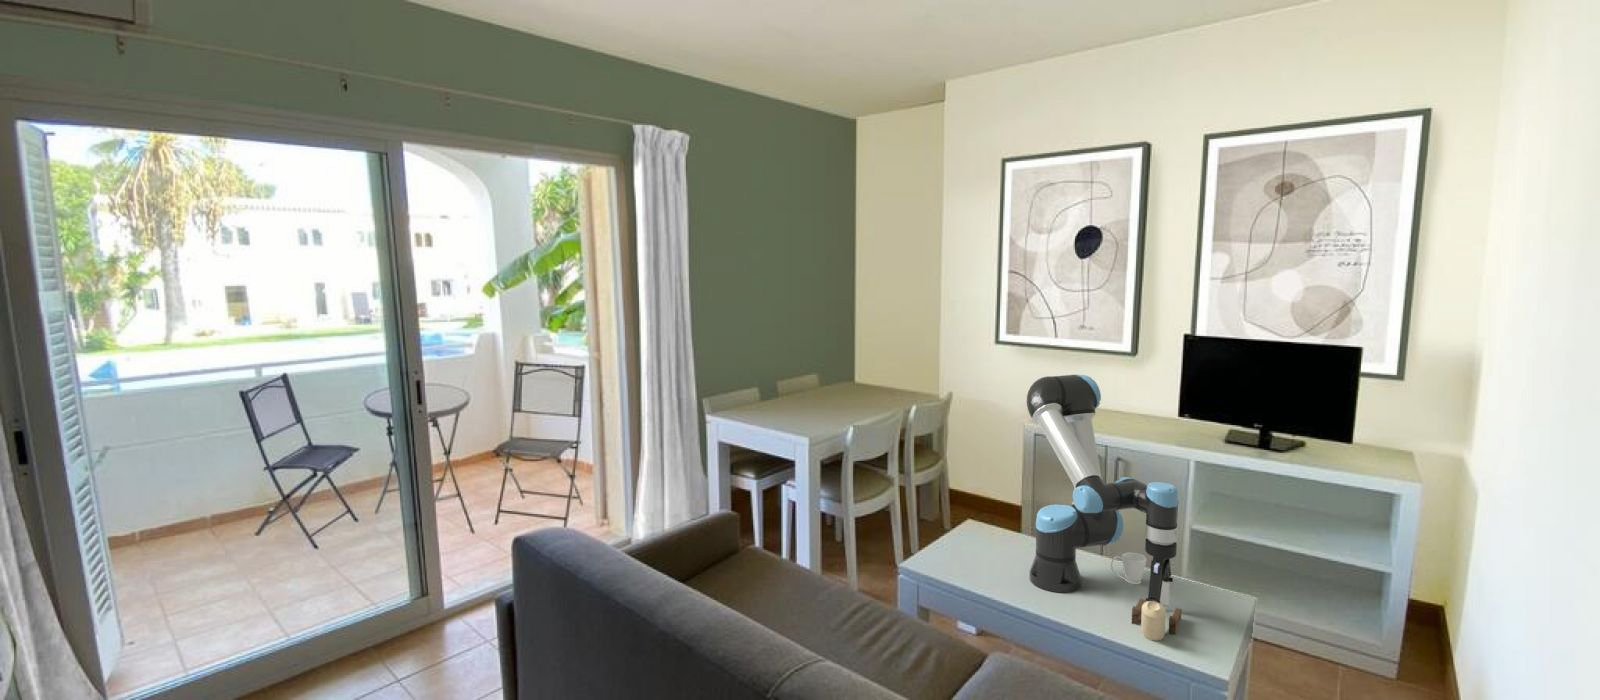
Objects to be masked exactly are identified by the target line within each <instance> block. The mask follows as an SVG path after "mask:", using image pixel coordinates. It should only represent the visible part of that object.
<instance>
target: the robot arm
mask: <svg viewBox="0 0 1600 700" xmlns="http://www.w3.org/2000/svg"><path fill="white" fill-rule="evenodd" d="M1100 390H1101V389H1100V387H1099V385H1098V384H1097V382H1096V381H1095V380H1094V379H1093V378H1092V377H1090V376H1089V375H1087V374H1067V375H1056V376H1053V375H1052V376H1051V375H1050V376H1044V377H1041V378H1038V379H1037V380H1035V381H1034V382H1033V383H1032V384H1031V386H1030V387H1029V389H1028V392H1027V394H1026V407H1027V411H1028V413H1029V416H1030V418H1031V420H1032V421H1033V422H1034V423H1035V424H1038V425H1039V427H1040V428H1041V430H1042V432H1043V434H1044V436H1045V437H1046V440H1047V441H1048V443H1049V444H1050V447H1052V449H1053V451H1054V453H1055V455H1056V456H1057V458H1058V460H1059V461H1060V463H1061V465H1062V467H1063V469H1064V470H1065V472H1066V474H1067V476H1068V478H1069V479H1070V481H1071V482H1072V485H1073V492H1072V499H1073V501H1072V502H1071V506H1070V505H1067V504H1056V503H1055V504H1049V505H1046V506H1043V507H1041V508H1040V509H1039V510H1038V511H1037V514H1036V520H1035V556H1034V558H1033V561H1032V564H1031V566H1030V569H1029V581H1030V582H1031V583H1032V585H1034V586H1035V587H1037V588H1040V589H1042V590H1045V591H1049V592H1052V593H1053V592H1055V593H1070V592H1075V591H1077V590H1079V589H1080V588H1081V586H1082V576H1081V573H1080V570H1079V566H1078V563H1077V561H1076V560H1077V559H1076V557H1077V556H1076V554H1077V549H1081V548H1082V549H1083V548H1090V547H1097V546H1100V547H1101V546H1102V547H1103V546H1107V545H1112V544H1115V543H1116V542H1118V541H1119V540H1120V538H1121V537H1122V536H1123V533H1124V532H1123V531H1124V519H1123V515H1122V513H1121V512H1120V511H1121V510H1129V509H1136V510H1138V511H1140V512H1141V513H1143V514H1144V513H1145V515H1146V517H1145V533H1144V534H1145V542H1144V543H1145V547H1144V548H1145V549H1144V551H1145V552H1146V554H1148V555H1149V556H1152V559H1151V562H1150V574H1149V576H1150V577H1149V585H1148V593H1147V597H1145V600H1146V602H1148V601H1155V602H1157V603H1159V604H1161V605H1164V606H1165V605H1166V606H1169V605H1170V588H1171V587H1170V583H1174V581H1173V580H1174V578H1173V577H1172V571H1171V570H1172V569H1171V559H1174V558H1175V557H1176V556H1177V553H1178V552H1177V547H1178V545H1177V539H1178V538H1177V537H1178V535H1180V531H1179V530H1178V511H1179V502H1180V501H1179V491H1178V487H1176V486H1175V485H1174V484H1171V483H1166V482H1163V481H1162V482H1161V481H1153V482H1150V483H1148V484H1146V483H1143V482H1141V481H1140V480H1138V479H1135V478H1132V477H1128V476H1123V477H1120V478H1119V479H1117V480H1115V481H1114V482H1112V483H1111V482H1109V483H1105V482H1104V480H1103V478H1102V472H1101V467H1100V461H1099V455H1098V454H1099V453H1098V450H1097V443H1096V439H1095V432H1094V425H1093V421H1092V420H1093V418H1094V417H1095V416H1096V409H1097V408H1099V406H1100V405H1101V401H1102V397H1101V395H1102V393H1101V391H1100Z"/></svg>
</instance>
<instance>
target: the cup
mask: <svg viewBox="0 0 1600 700" xmlns="http://www.w3.org/2000/svg"><path fill="white" fill-rule="evenodd" d="M1115 559H1119V560H1122V567H1123V572H1124V575H1125V577H1124V576H1122V575H1120V573H1118V572H1117V571H1116V570H1115V569H1114V567H1113V561H1114V560H1115ZM1146 564H1147V558H1146V556H1145V554H1141V553H1138V552H1132V551H1126V552H1124V553H1121V556H1120V555H1119V556H1118V555H1116V556H1114V557H1113V558H1112V559H1111V562H1110V569H1111V571H1112V572H1113V573H1114V574H1115V575H1116V576H1117V577H1118V578H1120V579H1122V580H1124V581H1125V582H1127V583H1129V584H1132V585H1140V584H1141V583H1142V579H1143V576H1144V573H1145V569H1146Z"/></svg>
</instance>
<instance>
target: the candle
mask: <svg viewBox="0 0 1600 700" xmlns="http://www.w3.org/2000/svg"><path fill="white" fill-rule="evenodd" d="M1166 613H1167V611H1166V608H1165V607H1164V605H1163V604H1159V603H1157V602H1155V601H1146V602H1145V603H1144V604H1143V605H1142V616H1141V619H1140V622H1141V623H1140V629H1141V630H1140V631H1141V633H1142V635H1143V637H1145V638H1146V639H1148V640H1149V641H1155V642H1156V641H1161V640H1163V638H1164V637H1165V633H1166V632H1165V630H1166V617H1167V616H1166V615H1167V614H1166Z"/></svg>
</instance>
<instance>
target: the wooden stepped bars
mask: <svg viewBox="0 0 1600 700" xmlns="http://www.w3.org/2000/svg"><path fill="white" fill-rule="evenodd" d="M1145 602H1147V601H1146V599H1143V598H1139V599H1138V602H1137V603H1136V604H1135V605H1133V606H1132V609H1131V624H1132V625H1136V626H1138V625H1139V623H1140V622H1141V616H1142V605H1143V604H1144V603H1145ZM1182 611H1183V609H1182V608H1178V607H1175V608H1174V611H1173V612H1172V615H1169V618H1168V635H1173V636H1175V635H1176V633H1177V631H1178V628H1179V626H1180V623H1181V621H1182V615H1183V614H1182Z"/></svg>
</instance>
